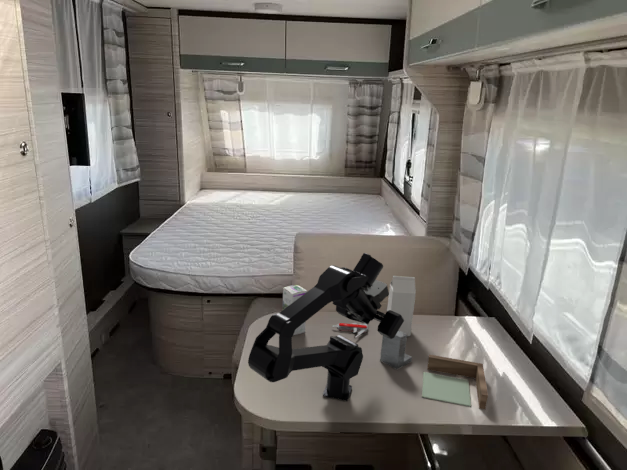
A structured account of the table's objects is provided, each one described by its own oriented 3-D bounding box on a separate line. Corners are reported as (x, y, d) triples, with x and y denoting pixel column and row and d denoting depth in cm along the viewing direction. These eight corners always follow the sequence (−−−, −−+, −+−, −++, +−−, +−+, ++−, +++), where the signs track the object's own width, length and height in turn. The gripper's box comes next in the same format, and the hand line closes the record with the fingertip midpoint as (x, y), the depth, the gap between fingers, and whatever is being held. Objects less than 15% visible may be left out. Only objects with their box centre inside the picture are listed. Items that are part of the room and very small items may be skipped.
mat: (470, 406, 120) (470, 405, 120) (421, 397, 123) (422, 396, 123) (468, 380, 132) (468, 379, 132) (423, 372, 134) (423, 371, 134)
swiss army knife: (331, 339, 150) (331, 333, 150) (332, 319, 163) (333, 314, 163) (368, 342, 150) (368, 336, 149) (366, 322, 163) (367, 317, 162)
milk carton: (410, 336, 154) (417, 281, 149) (388, 335, 154) (394, 280, 149) (406, 326, 161) (413, 273, 156) (385, 325, 161) (391, 272, 156)
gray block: (396, 369, 135) (400, 337, 132) (380, 360, 139) (383, 329, 136) (411, 361, 140) (415, 330, 137) (394, 353, 144) (398, 322, 141)
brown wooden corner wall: (485, 409, 120) (488, 395, 119) (425, 397, 123) (427, 384, 122) (480, 376, 134) (482, 363, 133) (427, 366, 137) (429, 354, 136)
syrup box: (305, 332, 153) (308, 290, 149) (290, 336, 150) (292, 293, 146) (296, 325, 157) (298, 283, 153) (280, 329, 154) (282, 286, 150)
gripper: (404, 285, 115) (424, 315, 126) (346, 263, 128) (369, 292, 138) (379, 324, 112) (403, 352, 122) (323, 298, 125) (348, 325, 135)
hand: (380, 328), depth 130 cm, fingers open, 9 cm apart
